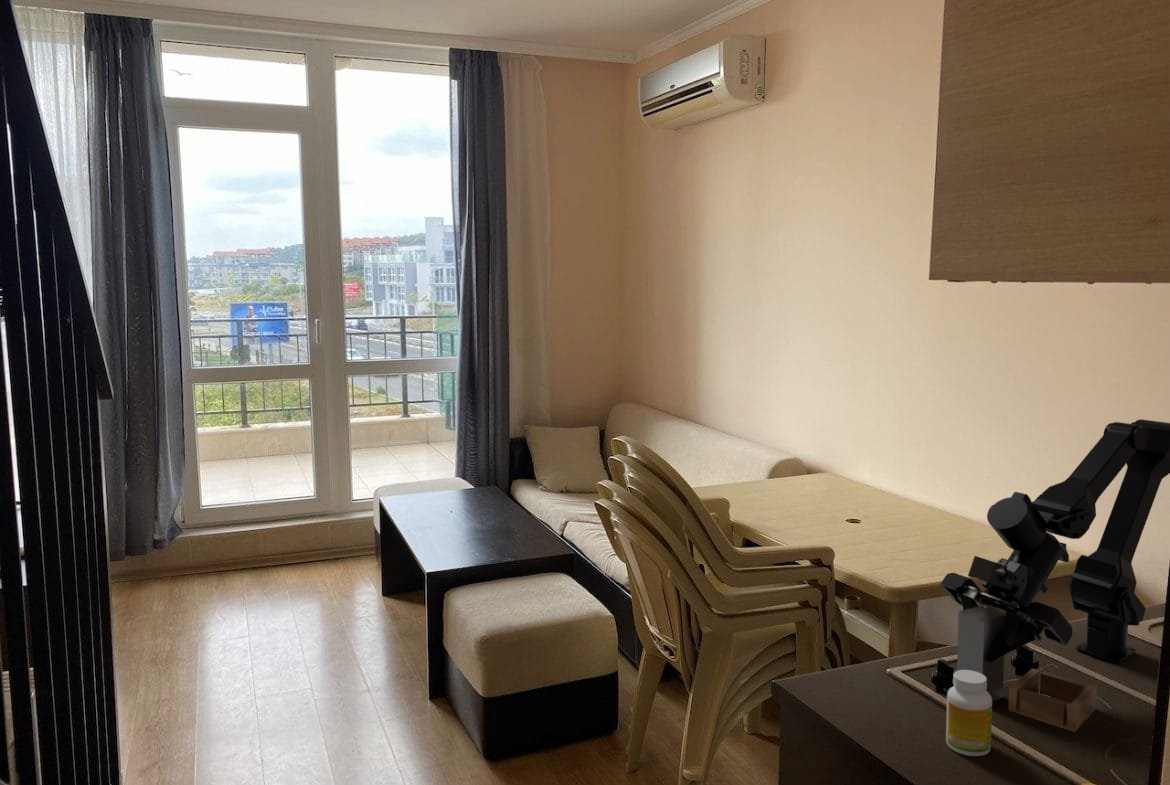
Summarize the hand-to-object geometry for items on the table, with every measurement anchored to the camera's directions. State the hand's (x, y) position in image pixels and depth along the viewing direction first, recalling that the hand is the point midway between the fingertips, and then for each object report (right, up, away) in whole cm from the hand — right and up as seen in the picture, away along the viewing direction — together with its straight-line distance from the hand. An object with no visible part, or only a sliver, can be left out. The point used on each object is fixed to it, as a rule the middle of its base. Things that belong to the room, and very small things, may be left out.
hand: (973, 654), depth 126 cm
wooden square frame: (+10, -7, -3) cm, 12 cm away
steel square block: (+1, -6, +1) cm, 7 cm away
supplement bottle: (-6, -9, -12) cm, 16 cm away
